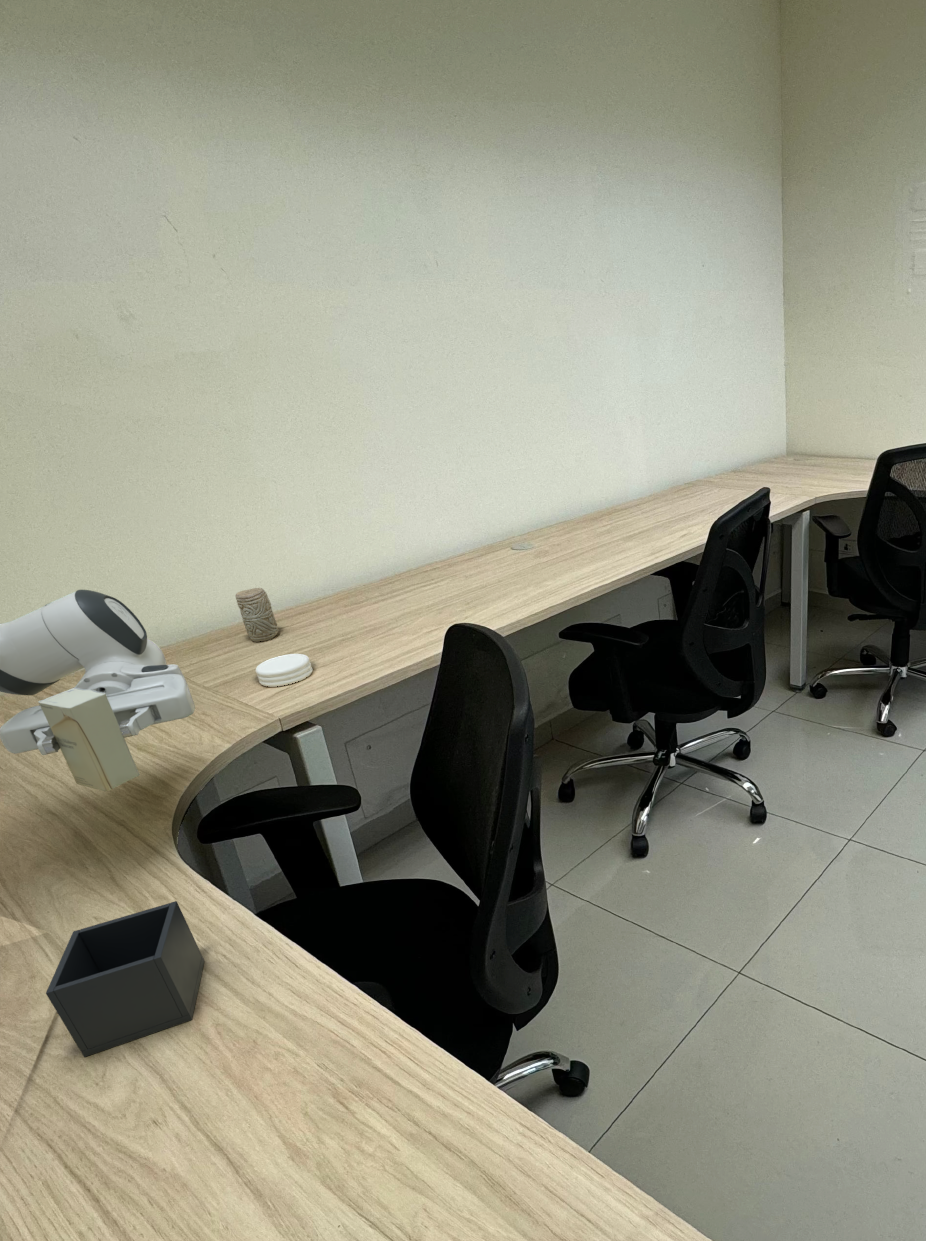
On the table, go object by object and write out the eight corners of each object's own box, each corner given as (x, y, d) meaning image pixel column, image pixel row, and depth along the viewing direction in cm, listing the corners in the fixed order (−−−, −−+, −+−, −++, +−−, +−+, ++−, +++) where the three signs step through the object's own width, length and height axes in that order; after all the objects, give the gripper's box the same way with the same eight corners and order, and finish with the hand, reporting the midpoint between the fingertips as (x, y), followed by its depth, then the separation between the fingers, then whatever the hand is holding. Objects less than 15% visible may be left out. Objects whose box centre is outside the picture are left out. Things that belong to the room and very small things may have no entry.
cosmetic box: (76, 785, 97) (33, 702, 92) (112, 767, 101) (73, 686, 96) (108, 793, 95) (67, 708, 90) (144, 774, 99) (106, 691, 94)
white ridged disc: (310, 663, 165) (305, 648, 164) (315, 678, 158) (311, 663, 156) (258, 676, 160) (253, 661, 159) (261, 692, 153) (255, 676, 151)
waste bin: (83, 1057, 75) (45, 993, 71) (106, 992, 83) (72, 931, 79) (192, 1020, 79) (160, 956, 75) (204, 960, 86) (176, 900, 82)
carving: (245, 645, 178) (228, 597, 173) (256, 634, 184) (240, 587, 179) (274, 641, 179) (258, 594, 174) (284, 630, 185) (269, 584, 180)
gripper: (10, 695, 101) (-31, 739, 89) (190, 661, 109) (174, 698, 97) (31, 736, 103) (-6, 784, 92) (205, 700, 111) (191, 740, 100)
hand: (88, 740), depth 95 cm, fingers closed on cosmetic box, 7 cm apart
